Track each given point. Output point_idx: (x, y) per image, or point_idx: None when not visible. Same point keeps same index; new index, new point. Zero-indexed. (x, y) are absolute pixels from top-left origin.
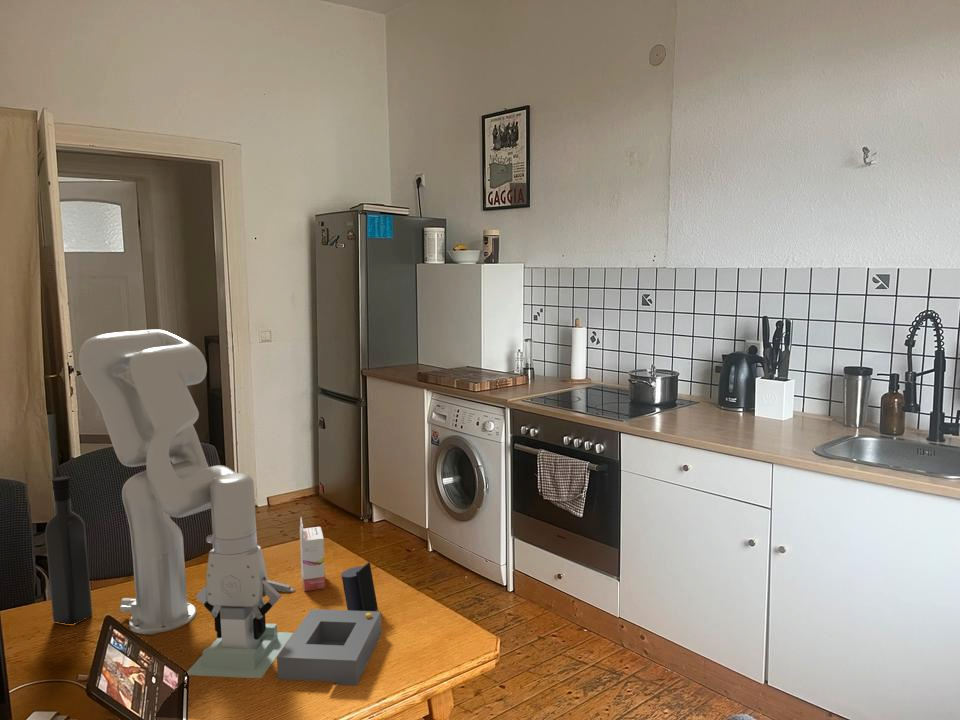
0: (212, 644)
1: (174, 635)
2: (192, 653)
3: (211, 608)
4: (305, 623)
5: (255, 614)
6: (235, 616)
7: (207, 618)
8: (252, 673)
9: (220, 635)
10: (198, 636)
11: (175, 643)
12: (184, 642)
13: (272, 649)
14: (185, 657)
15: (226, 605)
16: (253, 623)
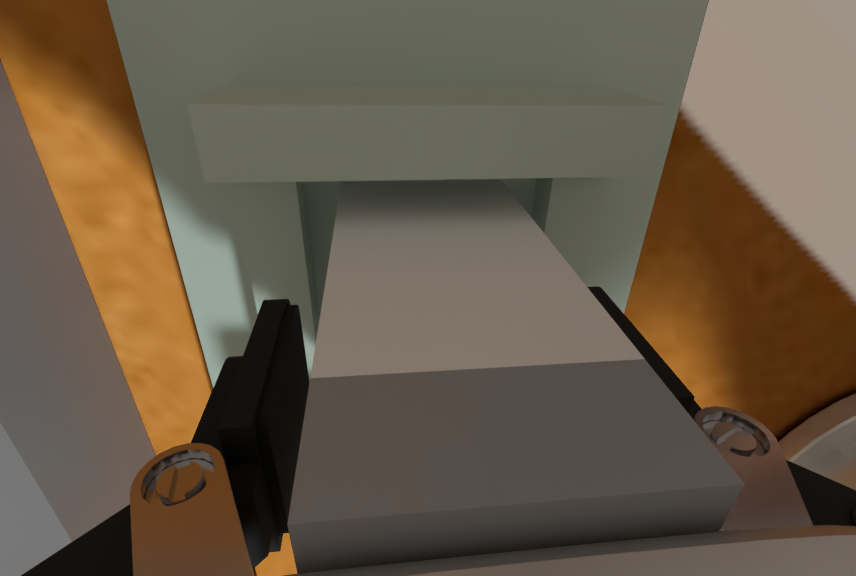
0: None
1: (806, 386)
2: (700, 259)
3: (806, 498)
4: (11, 509)
5: (218, 489)
6: (443, 402)
7: None
8: (211, 24)
9: None
10: (697, 393)
11: (796, 331)
12: (755, 343)
13: (253, 325)
14: (731, 219)
15: (655, 557)
16: (269, 395)
